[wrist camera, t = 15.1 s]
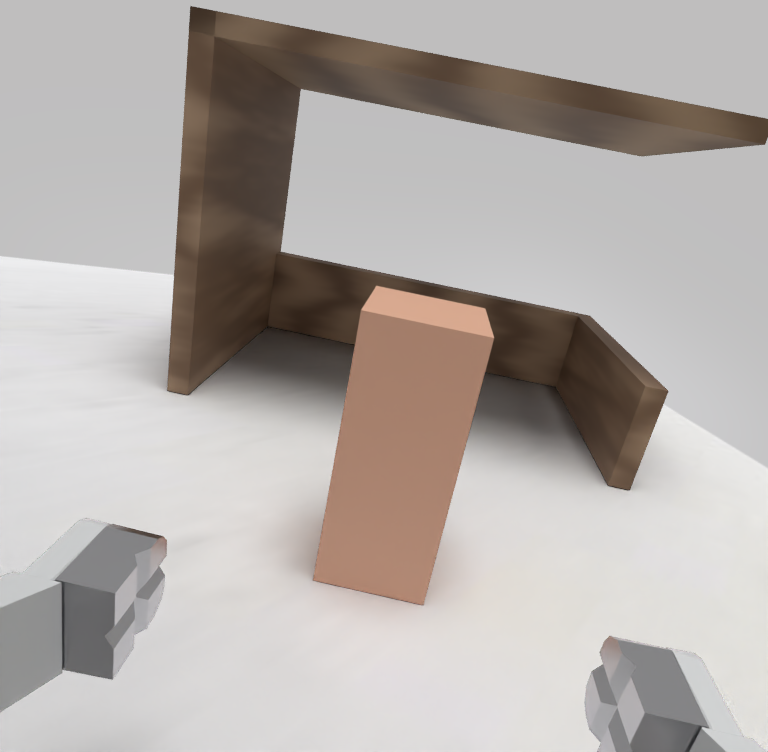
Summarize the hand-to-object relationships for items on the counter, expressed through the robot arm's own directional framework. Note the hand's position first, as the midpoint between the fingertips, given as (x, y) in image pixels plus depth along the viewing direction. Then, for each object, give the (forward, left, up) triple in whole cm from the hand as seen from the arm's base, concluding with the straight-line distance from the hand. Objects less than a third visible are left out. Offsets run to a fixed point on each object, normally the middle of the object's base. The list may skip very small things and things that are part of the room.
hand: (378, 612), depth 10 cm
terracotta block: (0, +10, -7) cm, 12 cm away
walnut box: (0, +29, -6) cm, 30 cm away
